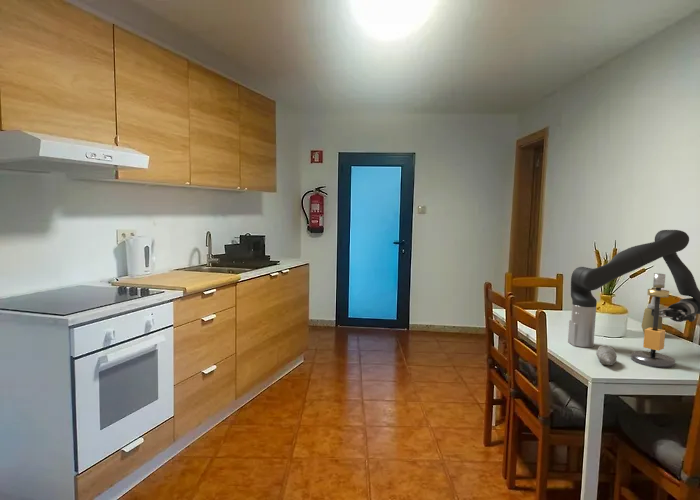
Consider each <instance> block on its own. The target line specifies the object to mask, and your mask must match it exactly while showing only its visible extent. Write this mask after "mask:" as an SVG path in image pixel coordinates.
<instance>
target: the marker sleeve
mask: <svg viewBox="0 0 700 500" xmlns="http://www.w3.org/2000/svg"><path fill="white" fill-rule="evenodd" d="M665 339H666V330H665V329H662V330H661V329H658V331H654V330H653V328H647V329H645V333H643V346H642V347H643V348H645V349H648V350H649V349H650V350H651V349H653V350H656V352H657V351H662V350H663V349H664V348H665Z"/></svg>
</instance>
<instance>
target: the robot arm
mask: <svg viewBox="0 0 700 500" xmlns="http://www.w3.org/2000/svg"><path fill="white" fill-rule="evenodd" d="M689 242H690V236H689V235H688V233H686V232H685V231H684V230H678V229H661V230H659V231H658V232H657V233H656V234H655V236H654V241H652V242H647V243H642V244H639V245H635V246H631V247H628V248H627V249H623V250H622V251H621V250H620V252H618V253H616V254H615V255H614V256H613V258H612V259H611V260H610V261H609V262H608V263H606V264H604V265H602V266H601V265H600V266H598V267H594V268H592V267H585V266H578V267H576V268H575V269H574V270H573V271H572V274H571V278H570V297H571V300H572V303H571V317H570V319H571V320H569V321H568V335H567V342H568V343H569V344H571V345H572V346H573V347H580V348H593V347H594V345H595V332H596V331H595V330H596V317H597V316H596V315H597V303H598V302H597V299H596V297H594V296H593V294H592V291H596V290H598V289H600V288H601V287H603V286H605V285H607V284H609V283H610V282H611V281H613V280H615V279H618V278H620V277H622V276H624V275H627V274H628V273H631V272H633V271H635V270H638V269H640V268H642V267H644V266H646V265H648V264H650V263H653V262H655V261H657V260H658V259H661V258H663V260H664V263H665V264H666V265H667V267H668V269H669V271H670V273H671V276H672V277H673V281H674V282H675V286H676V289H677V291H678V293H679V294H680V296H685V297H686V296H687V298H682V299H680V300H679V301H678V302H676V303H671V304H670V305H669V306H668V307H667V308H659V314H660V313H661V315H659V317H662V318H663V319H670V320H672V321H673V322H677V323H679V322H680V323H682V322H687V321H688V322H690V323H692V322H695V321H696V318H697V315H699V314H700V289H699V288H698V285H697V283H696V280H695V277H694V275H693V273H692V272H691V271H692V270H690V269H689V268H688V266H687V265H686V264H685V263H684V262H683V261H682V259H681V258H680V256H679V255H678V253H677V252H681V251H683V250H684V249H686V248H687V246H688V245H689ZM651 315H652V316H654V309H652V311H651Z"/></svg>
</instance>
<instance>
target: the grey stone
mask: <svg viewBox="0 0 700 500" xmlns="http://www.w3.org/2000/svg"><path fill="white" fill-rule="evenodd" d="M595 355H596V357H597V359H598V360H599V362H600V363H601V364H603V365H605V366H612V365H614V364H615V363H616V361H617V357H618V355H617V353H616V351H615V349H614V348H613V347H611V346H609V345H606V344H605V345H599V347H598V348H597V351H596V353H595Z"/></svg>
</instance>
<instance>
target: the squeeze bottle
mask: <svg viewBox="0 0 700 500" xmlns="http://www.w3.org/2000/svg"><path fill="white" fill-rule="evenodd" d="M651 297H652V298H651V299H650V303H647V307H646V308H644V312H643V317H642V322H641V328H642V332H643V334H644V333H645V329H647V328H653V318H654V316H652V315H651V311H652V309H654V306H655V297H654V296H651ZM659 315H661V313H660V314H659ZM662 318H663V317H659V319H658V329H661V330H663V322H662V321H663V320H662Z"/></svg>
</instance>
